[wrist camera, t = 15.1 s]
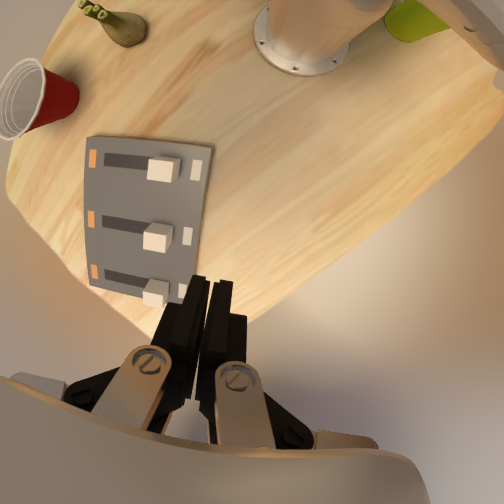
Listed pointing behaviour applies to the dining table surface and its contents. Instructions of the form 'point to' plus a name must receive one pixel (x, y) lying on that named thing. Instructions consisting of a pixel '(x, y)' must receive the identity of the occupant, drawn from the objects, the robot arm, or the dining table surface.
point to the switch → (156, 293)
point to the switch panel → (142, 213)
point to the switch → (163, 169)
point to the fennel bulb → (117, 23)
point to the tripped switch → (157, 237)
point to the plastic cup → (33, 98)
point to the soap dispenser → (413, 21)
